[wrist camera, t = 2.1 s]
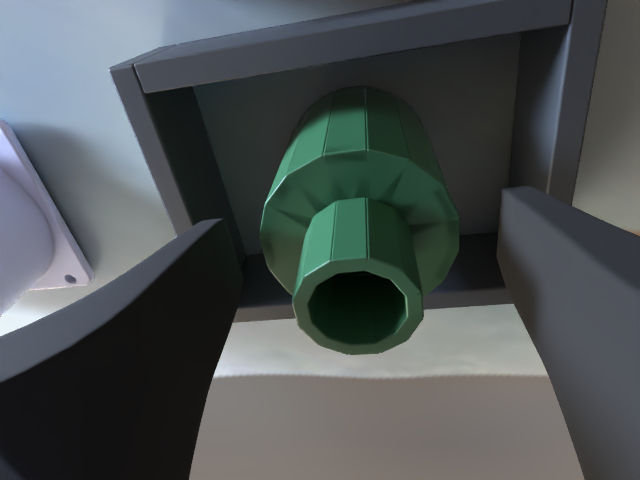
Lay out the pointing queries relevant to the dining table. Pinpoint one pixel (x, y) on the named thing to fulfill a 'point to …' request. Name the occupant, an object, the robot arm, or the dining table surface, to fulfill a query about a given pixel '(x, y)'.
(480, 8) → the crate
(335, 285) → the bottle
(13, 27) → the dining table surface
